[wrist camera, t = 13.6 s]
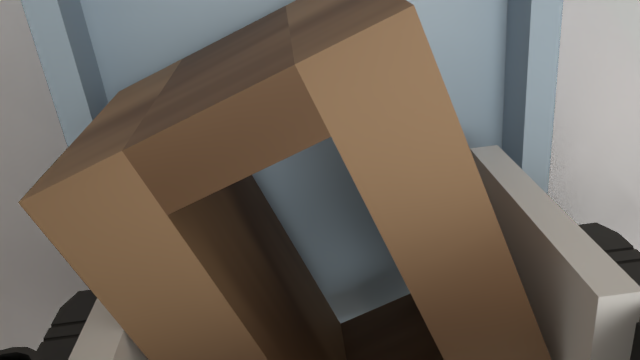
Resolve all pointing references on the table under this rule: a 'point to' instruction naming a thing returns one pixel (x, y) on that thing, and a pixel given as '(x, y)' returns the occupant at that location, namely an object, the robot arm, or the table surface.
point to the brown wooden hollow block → (259, 218)
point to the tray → (324, 158)
